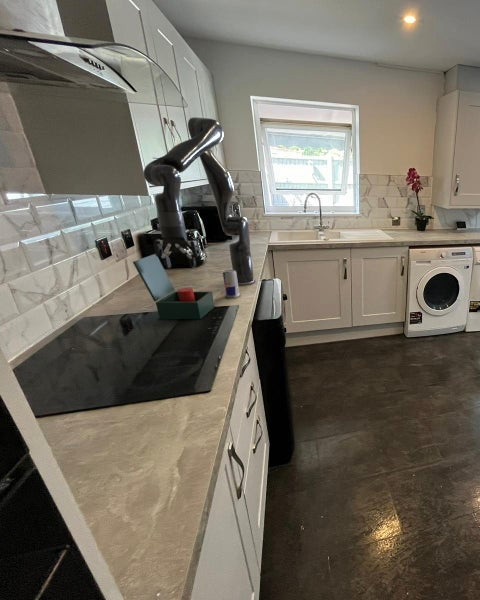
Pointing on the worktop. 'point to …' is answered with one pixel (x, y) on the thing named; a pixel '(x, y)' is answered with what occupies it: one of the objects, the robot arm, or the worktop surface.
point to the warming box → (185, 306)
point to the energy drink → (231, 283)
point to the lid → (154, 276)
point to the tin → (186, 295)
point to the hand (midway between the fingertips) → (180, 267)
